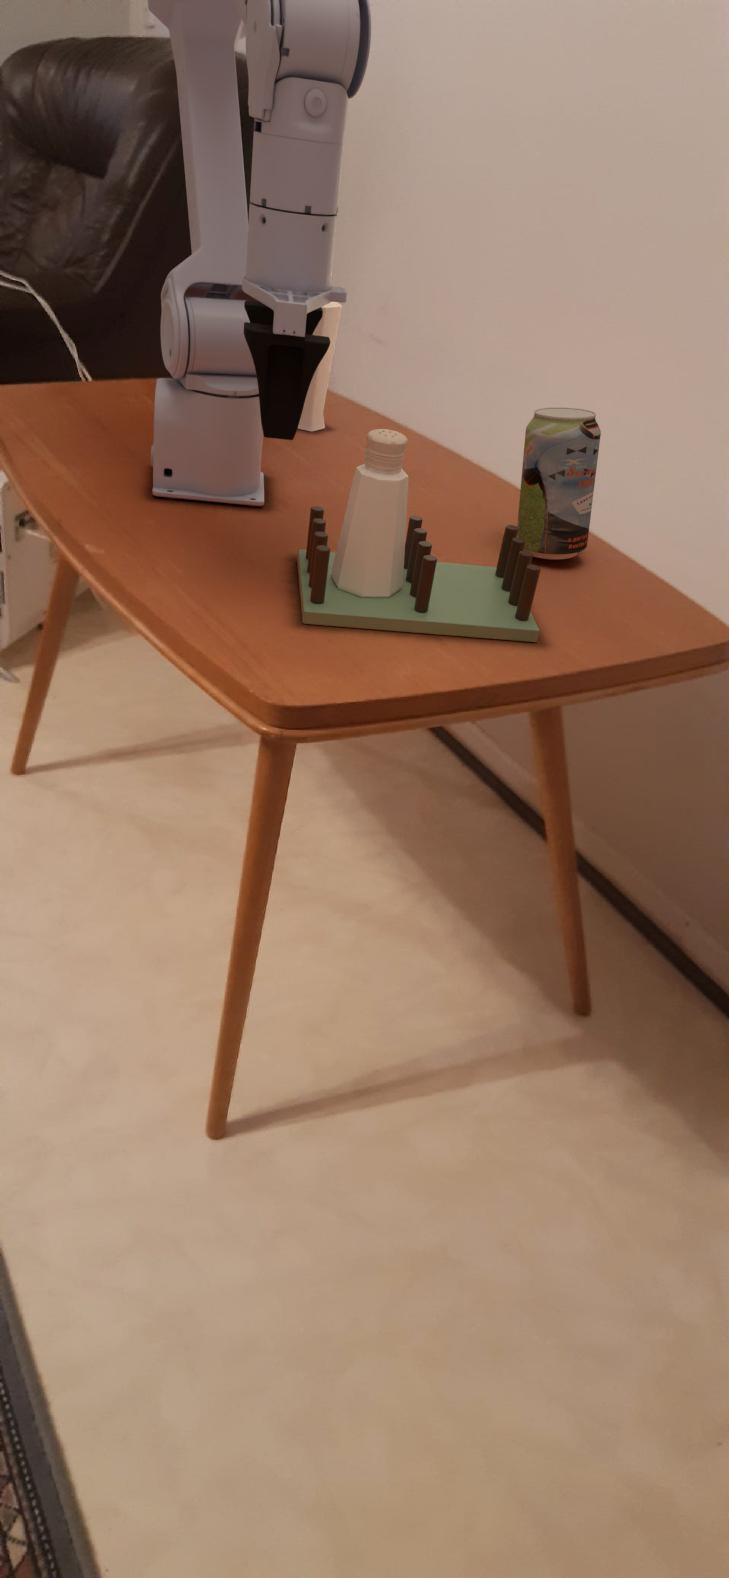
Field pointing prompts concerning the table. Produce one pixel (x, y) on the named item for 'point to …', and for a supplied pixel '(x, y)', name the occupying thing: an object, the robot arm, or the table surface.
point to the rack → (426, 590)
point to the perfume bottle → (321, 371)
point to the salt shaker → (375, 521)
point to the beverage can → (558, 481)
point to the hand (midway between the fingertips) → (277, 422)
